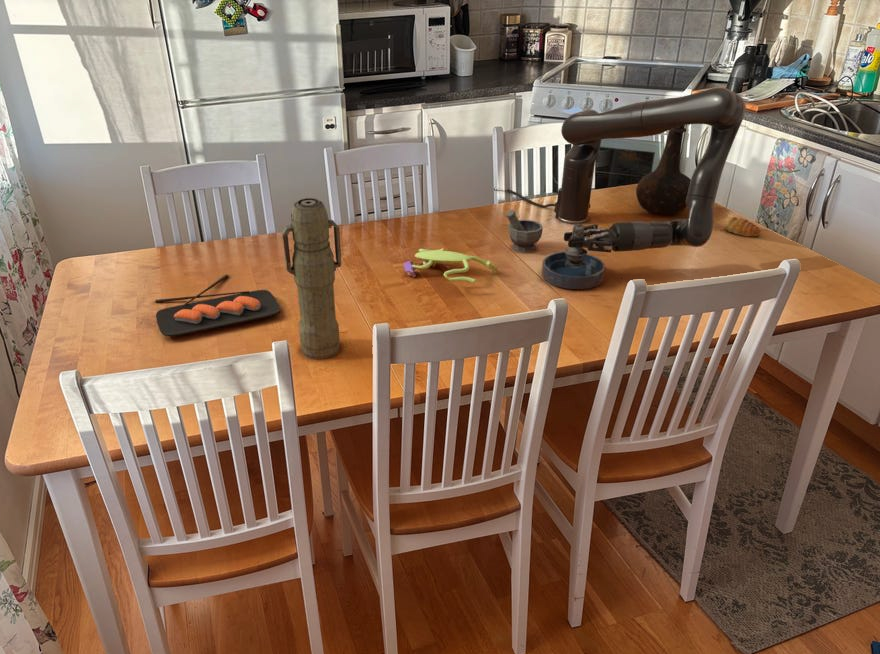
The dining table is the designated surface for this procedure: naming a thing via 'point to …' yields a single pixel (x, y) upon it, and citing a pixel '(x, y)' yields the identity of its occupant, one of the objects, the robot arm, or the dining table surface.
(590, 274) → the bowl
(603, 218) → the dining table surface
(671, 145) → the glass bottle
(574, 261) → the salt shaker
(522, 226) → the mortar and pestle
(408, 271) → the figurine
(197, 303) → the sushi plate
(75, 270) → the dining table surface
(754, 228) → the pastry
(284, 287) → the dining table surface
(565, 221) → the robot arm
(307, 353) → the thermos
